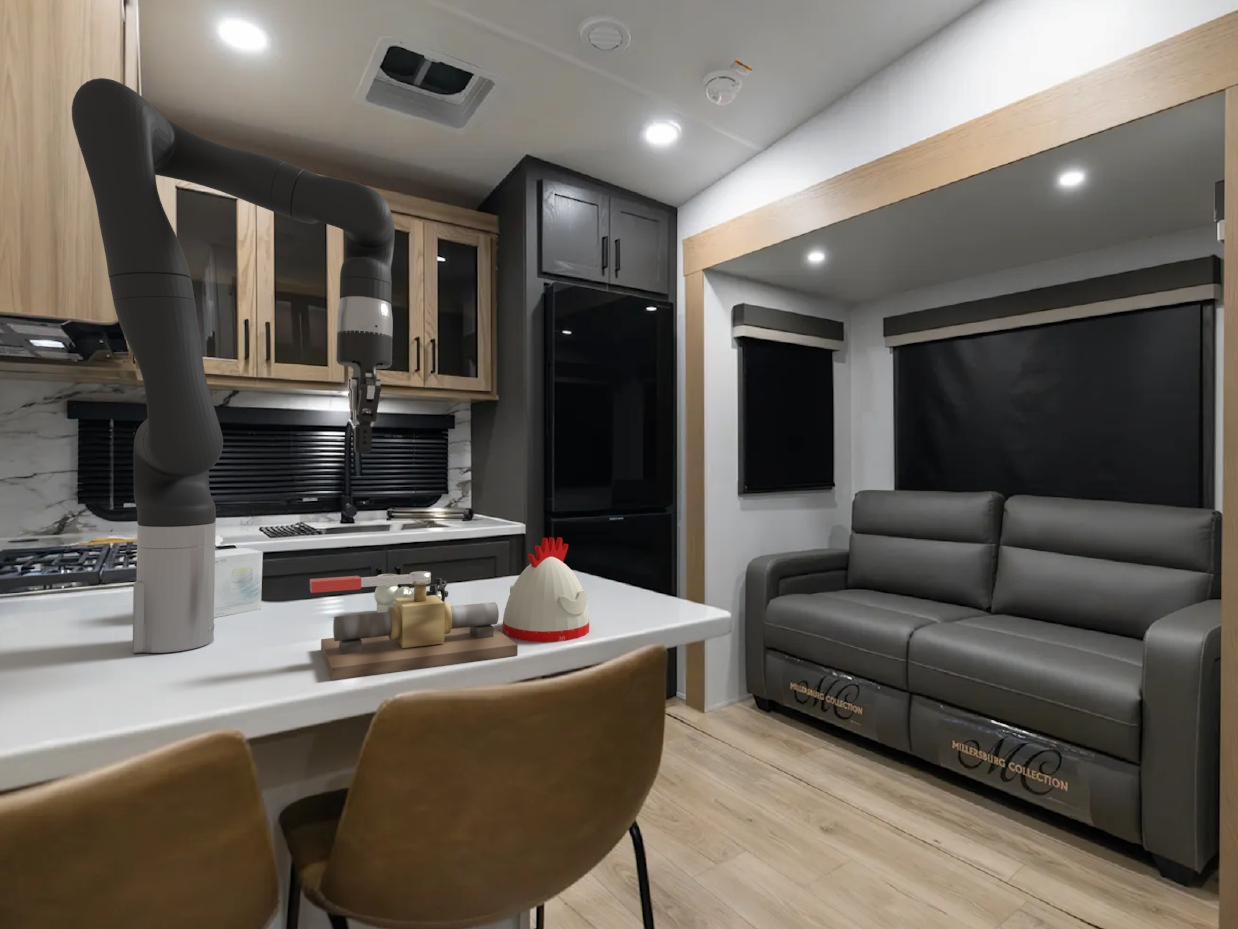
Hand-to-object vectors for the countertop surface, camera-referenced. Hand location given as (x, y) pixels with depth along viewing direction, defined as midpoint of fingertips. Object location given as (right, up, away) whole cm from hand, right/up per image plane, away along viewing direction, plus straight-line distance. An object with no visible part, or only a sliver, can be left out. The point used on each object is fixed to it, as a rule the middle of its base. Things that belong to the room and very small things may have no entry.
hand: (362, 452), depth 95 cm
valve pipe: (+9, -28, -3) cm, 30 cm away
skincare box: (-31, -27, +17) cm, 44 cm away
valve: (0, -28, +19) cm, 34 cm away
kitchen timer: (+26, -29, +11) cm, 40 cm away
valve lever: (+4, -18, -6) cm, 20 cm away
